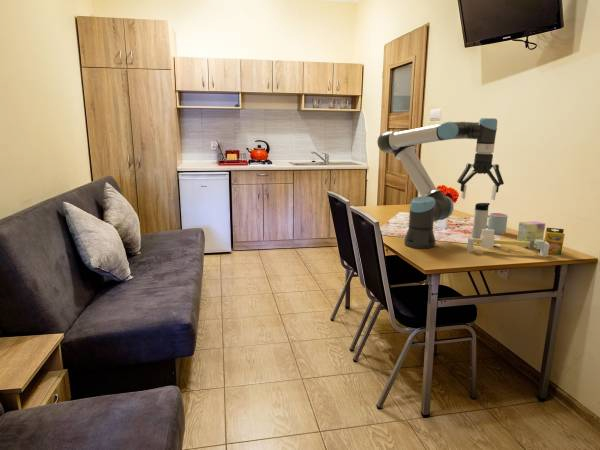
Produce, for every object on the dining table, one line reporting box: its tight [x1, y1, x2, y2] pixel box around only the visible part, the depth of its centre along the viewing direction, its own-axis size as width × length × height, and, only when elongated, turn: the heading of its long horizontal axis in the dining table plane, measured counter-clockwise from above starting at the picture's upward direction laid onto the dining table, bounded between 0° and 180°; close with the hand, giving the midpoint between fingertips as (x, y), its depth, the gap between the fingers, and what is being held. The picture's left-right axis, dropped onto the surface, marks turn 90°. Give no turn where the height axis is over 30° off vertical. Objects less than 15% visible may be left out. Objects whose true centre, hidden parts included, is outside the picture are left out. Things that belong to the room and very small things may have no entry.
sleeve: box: [479, 228, 495, 249], centre depth 194 cm, size 5×5×8 cm
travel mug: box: [471, 202, 491, 239], centre depth 210 cm, size 6×7×20 cm
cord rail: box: [466, 236, 549, 258], centre depth 193 cm, size 34×4×7 cm, turn 77°
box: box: [516, 220, 546, 249], centre depth 203 cm, size 10×6×12 cm, turn 102°
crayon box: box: [543, 227, 566, 255], centre depth 192 cm, size 7×3×12 cm, turn 70°
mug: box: [486, 212, 509, 235], centre depth 230 cm, size 14×9×10 cm
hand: (478, 199), depth 193 cm, fingers open, 13 cm apart
